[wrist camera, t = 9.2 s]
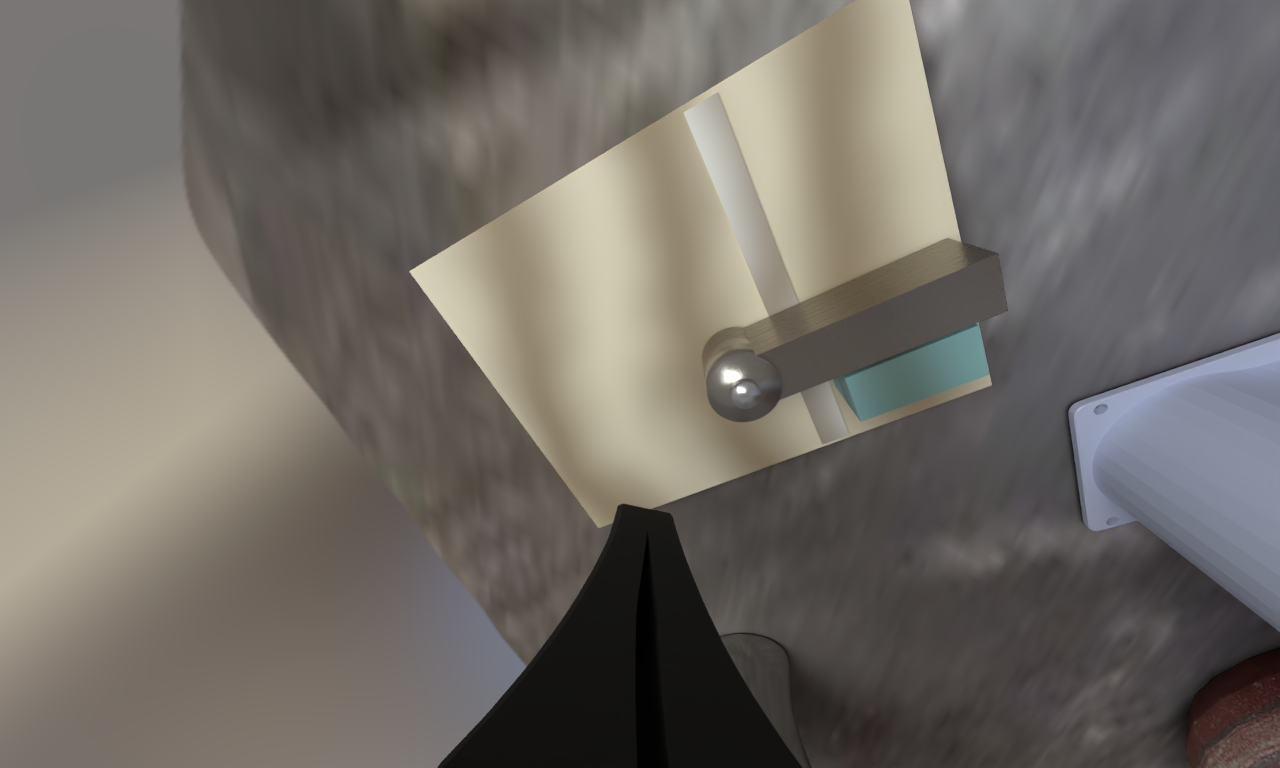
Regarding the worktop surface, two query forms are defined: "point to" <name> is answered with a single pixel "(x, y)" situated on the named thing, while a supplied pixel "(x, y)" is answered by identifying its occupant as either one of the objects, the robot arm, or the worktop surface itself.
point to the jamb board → (714, 267)
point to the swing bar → (851, 327)
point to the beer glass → (768, 684)
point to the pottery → (1238, 717)
